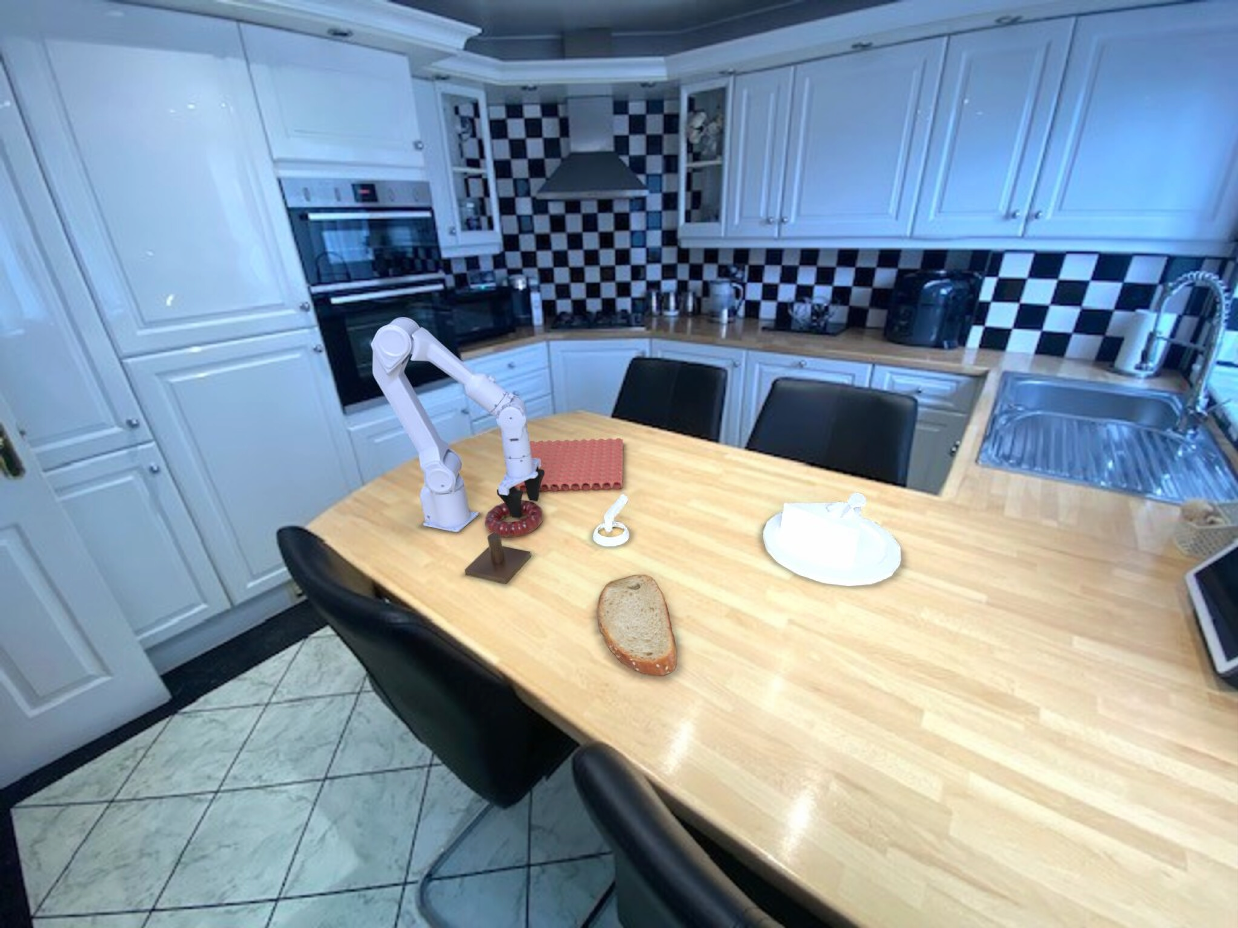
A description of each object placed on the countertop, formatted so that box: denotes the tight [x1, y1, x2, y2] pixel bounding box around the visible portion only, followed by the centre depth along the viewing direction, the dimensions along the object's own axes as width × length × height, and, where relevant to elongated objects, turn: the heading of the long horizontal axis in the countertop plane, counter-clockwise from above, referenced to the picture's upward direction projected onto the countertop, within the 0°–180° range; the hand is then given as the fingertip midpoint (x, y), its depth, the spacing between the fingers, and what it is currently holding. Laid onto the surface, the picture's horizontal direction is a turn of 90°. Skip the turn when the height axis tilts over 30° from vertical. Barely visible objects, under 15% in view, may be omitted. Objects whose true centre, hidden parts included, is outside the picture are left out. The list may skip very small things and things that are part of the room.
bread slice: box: [596, 574, 677, 677], centre depth 81 cm, size 18×18×4 cm
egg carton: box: [515, 437, 624, 493], centre depth 136 cm, size 28×28×2 cm
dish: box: [762, 492, 902, 587], centre depth 97 cm, size 25×25×11 cm
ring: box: [484, 499, 544, 538], centre depth 110 cm, size 12×12×3 cm
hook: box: [592, 493, 631, 547], centre depth 103 cm, size 8×12×7 cm
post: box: [464, 533, 532, 585], centre depth 96 cm, size 9×9×7 cm
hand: (525, 508), depth 114 cm, fingers open, 7 cm apart
